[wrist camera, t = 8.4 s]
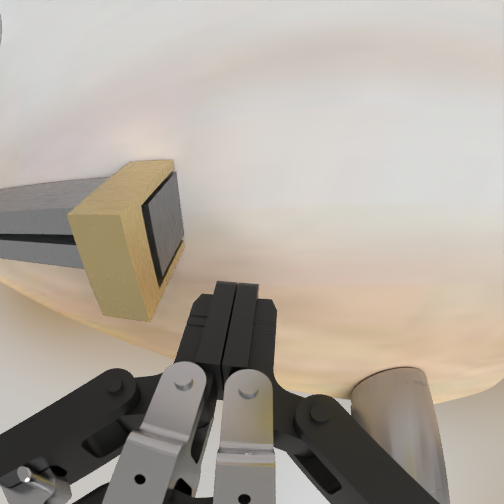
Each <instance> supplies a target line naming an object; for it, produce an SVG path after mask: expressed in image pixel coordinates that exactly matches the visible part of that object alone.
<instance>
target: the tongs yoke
mask: <svg viewBox="0 0 504 504" xmlns="http://www.w3.org/2000/svg"><path fill="white" fill-rule="evenodd" d="M141 209H142V214H143V219H144V224H145V229H146V234H147V239H148V243H149V248H150V252H151V257H152V261H153V265H154V270H155V274H156V276H163V275H164V273H165V271H166V269H167V267H168V265H169V263H170V261H171V259H172V257H173V255H174V253H175V251H176V249H177V247H178V245H179V243H180V241H181V239H182V237H183V235H184V230H183V223H182V216H181V208H180V200H179V192H178V183H177V174H176V172H171V173H170V174H169V175H168V176H167V177H166V178H165V179H164V180H163V182H162V183H161V184H160V185H159V186H158V187H157V188H156V189H155V190H154V192H153V193H152V194H151V195H150V196H149V197H148V198H147V199H146V201H145V202H144V203H143V204H142V205H141Z"/></svg>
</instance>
